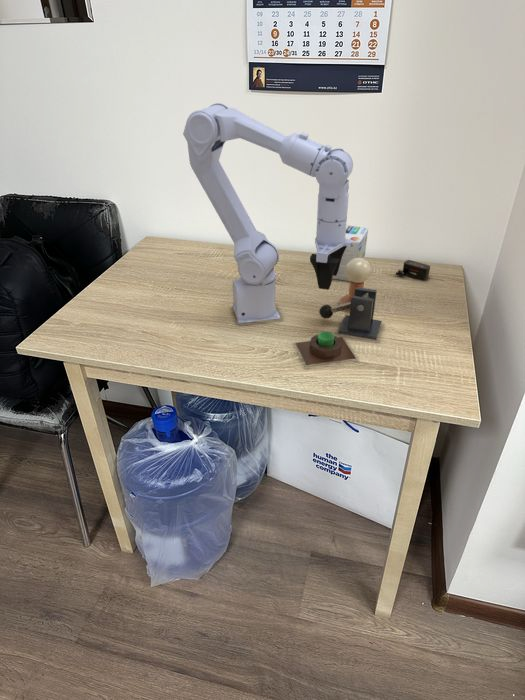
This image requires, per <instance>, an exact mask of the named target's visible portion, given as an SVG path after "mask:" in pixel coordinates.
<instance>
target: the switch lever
mask: <svg viewBox="0 0 525 700" xmlns="http://www.w3.org/2000/svg"><path fill="white" fill-rule="evenodd" d="M358 296H359V297H365V298H370V295H369V293H365V294H362V295H358ZM350 304H351V302H348V303H345V304H341V303H340V304H338V305H334V306H332V305H330V304H323V305H322V306H320V308H319V310H318V312H319V316H320V317H321V318H323V319H325V320H328V319H330V318H332V316H333V315H334V314H336V313H338V312H343V311H347V310H346V309H350Z"/></svg>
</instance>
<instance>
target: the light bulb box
mask: <svg viewBox="0 0 525 700" xmlns="http://www.w3.org/2000/svg"><path fill="white" fill-rule="evenodd" d="M368 233H369V228H368V227H365V226H356V225H355V226H354V225H347V224H346V235H345V238H346V239H350V240H351V244H350V246H347V247H346V249H345V251H344V253H343V256H342V259H341V263H340V266H339V270H338V273H337V275H336V276H334V275H333V277H332V280H341V281H344V282H345V281H346V282H350V280H349V279H348V278H347V276H346V273H345V269H346V265H347V264H348V262H349V261H350V260H352V259H354V258H363V259H365V260H366V251H367V242H368Z"/></svg>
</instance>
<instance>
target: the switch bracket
mask: <svg viewBox="0 0 525 700" xmlns="http://www.w3.org/2000/svg"><path fill="white" fill-rule="evenodd" d="M377 292H378V290H377V289H371V288H365V287H364V288H359V287H356V288H355V294H354V296H352V297H351V304H350V311H349V314H345V315H344V317H343V319H342V321H341V324H340V327H339V328H338V333H337V334H339V335H345V336H351V337H357V338H362V339H368V340H372V341H373V340H374V341H377V339H378V336H379V333H380V330H381V327H382V322H383V321H382V320H380V319H374V315H375V309H376V300H377ZM365 293H369V295H370V298H365V297H359V296H358V295H362V294H365Z"/></svg>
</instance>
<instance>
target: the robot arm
mask: <svg viewBox="0 0 525 700" xmlns="http://www.w3.org/2000/svg"><path fill="white" fill-rule="evenodd" d="M182 135H183V137H184V138H185V140H186V142H187V150H188V160H189V165H190V167H191V169H192V171H193V173H194V175H195V176H196V178H197V180H198V182H199V184H200V185H201V187H202V189H203V191H204V192H205V194H206V197H207V198H208V199H209V201H210V203H211V205H212V207H213V208H214V211H215V212H216V214H217V215H218V217H219V219H220V221H221V223H222V224H223V226H224V228H225V230H226V232H227V233H228V235H229V237H230V238H231V240H232V242H233V245H234V246H233V258H234V260H235V262H236V264H237V272H238V275H239V276H240V277H239V278H235V279H233V280H232V284H231V285H232V288H231V289H232V309H233V312H234V315H235V318H236V320H237V322H238V323H239V324H245V323H253V322H262V321H270V320H272V321H273V320H279V319H281V315H280V313H279V312H278V309H277V307H276V293H277V292H276V291H277V289H276V288H277V287H276V283H277V276H276V272H275V267H276V265H277V264H278V262H279V259H280V253H279V250H278V248H277V247H276V246H275V245H274V244H273V243H271V242H270V241H269V240H268V238H267V236H266V235H265V233H263V232H261V231H259V230H257V229H256V227H255V225H254V223H253V221H252V219H251V218H250V216H249V214H248V212H247V210H246V208H245V207H244V205H243V203H242V201H241V199H240V197H239V195H238V194H237V192H236V189H235V188H234V186H233V184H232V182H231V181H230V178H229V177H228V175H227V172H226V171H225V170H224V167H223V166H222V163H221V162H220V159H221V154H222V152H223V148H224V145H225V143H226V142H228V141H233V140H237V139H241V140H244V141H246V142H249V143H251V144H254V145H256V146H259V147H261V148H263V149H266V150H269V151H272V152H274V153H276V154H278V156H279V158H280V160H281V162H282V163H283V164H284V165H286V166H288V167H291V168H293V169H294V170H297V171H299V172H301V173H303V174H305V175H307V176H310V177H312V178H315V179H316V182H317V184H318V194H317V210H316V211H317V212H316V233H315V234H316V236H315V238H314V244H315V248H316V253H312V254H311V255H310V256H309V261H310V265H312V267H313V269H314V272H315V276H316V282H317V286H318V289H321V290H330V288H331V285H332V283H333V282H332V281H333V278H332V277H333V275H334V276H336V275H337V273H338V270H339V266H340V263H341V259H342V256H343V253H344V251H345V249H346V247H347V246H350V244H351V240H350V239H346V238H345V235H346V225H347V219H348V208H349V189H350V185H349V184H350V180H349V179H348V178H349V177H350V176H351V174H352V173H353V168H354V161H353V158H352V157H351V155H350V154H349V152H347V151H345V150H344V149H343V148H339V147H338V148H333V146H331V145H329V144H326V145H323V144H321V143H319V142H316V141H315V140H312V139H311V138H309V133H306V132H304V131H303V132H301V133H300V134H299V133H297V132H293V133H292V134H290V135H285V134H283V133H281V132H279V131H277V130H275V129H274V128H271V127H270V126H268V125H266V124H264V123H262V122H260V121H258V120H256V119H255V118H253V117H250V116H249V115H247V114H245V113H243V112H242V111H240V110H239V109H237V108H235V107H229V106H228V105H226V104H224V103H221V102H215V103H213V104H211V105H209V106H207V107H204V108H201V109H199V110H197V109H196V110H195V111H193V112H191V113H190V114H189V115H188V117H187V119H186V122H185V125H184V128H183V132H182ZM332 148H333V149H332Z"/></svg>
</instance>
